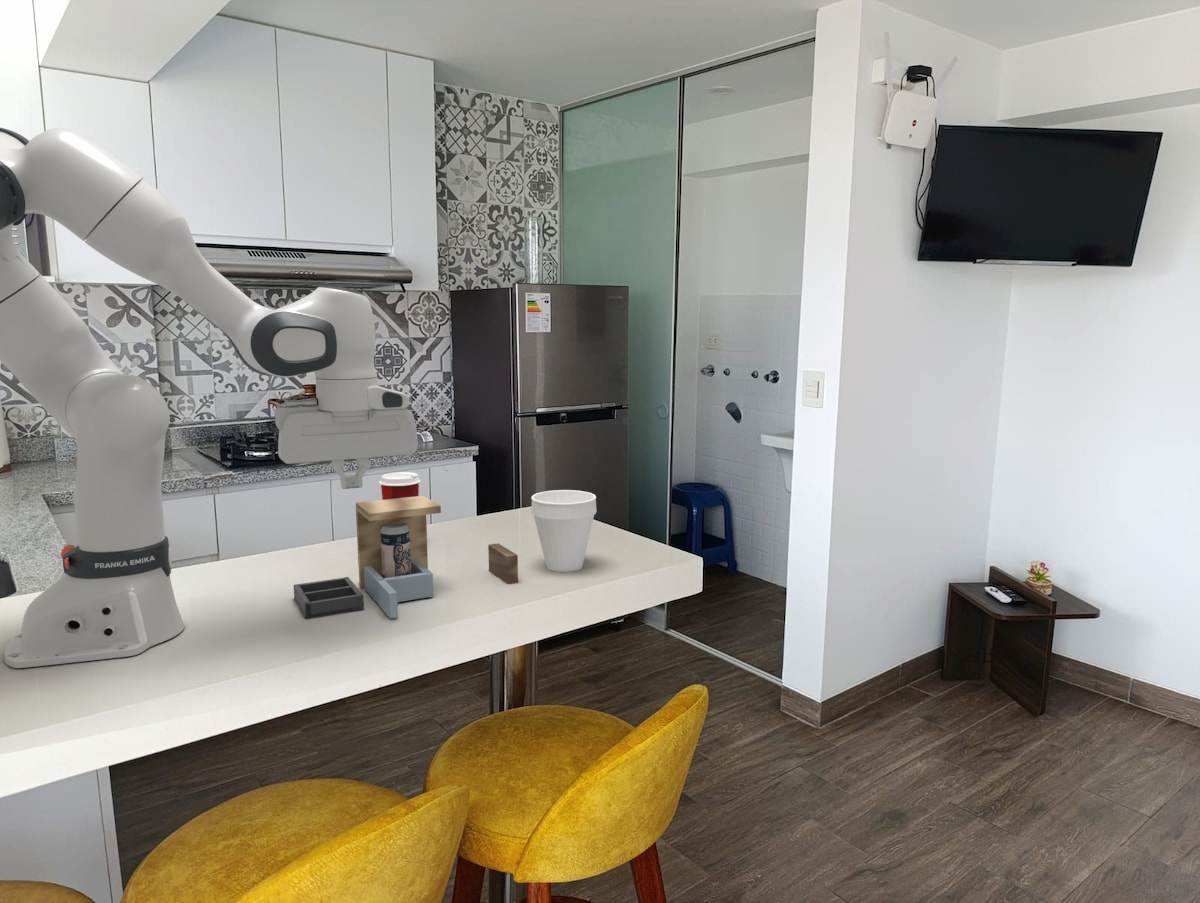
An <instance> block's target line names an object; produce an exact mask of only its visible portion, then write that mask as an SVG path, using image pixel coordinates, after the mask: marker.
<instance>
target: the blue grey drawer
mask: <svg viewBox="0 0 1200 903" xmlns="http://www.w3.org/2000/svg"><path fill="white" fill-rule="evenodd" d="M364 580H365V589H364V590H365V591H366V592H367V593H368V594H369V595H370V596H371V598H372V599H373V601H375V603H376V605H378V606H379V607H380V608H381V610H382V611H383V612H384V613H385V614H386V616H388V617H389V619H395V618H398V617H399V612H398V603H401V602H406V601H412V600H420V599H425V598H431V597H434V574H433V572H432V571H431V570H430V569H429V568H428V569H427V568H426V567H425V566H423V565H422V564H421V563H420V562H419V561H418V560H411V574H410V575H404V576H397V577H390V578H382V577H381V576H380V575H379V574H378V573H377V572H376V571H375V569H374V568H373V567H372V566H366V567H364Z"/></svg>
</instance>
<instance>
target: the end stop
mask: <svg viewBox="0 0 1200 903" xmlns="http://www.w3.org/2000/svg"><path fill="white" fill-rule="evenodd" d="M487 546H488V547H487V548H488V550H487V551H488V571H489V572H490V573H491V574H492V575H495V576H496V577H497V578H498V579H500V580H502V581H503V582H504V583H506V584H508V585H509V584H516V583H519V566H518V564H519V563H518V562H519V559H518V557H519V555H518V554H517V553H515V552H513V551H512V550H510V549H508V548H507V547H505V546H504V545H502V544H500V543H490V544H488V545H487Z"/></svg>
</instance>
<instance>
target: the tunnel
mask: <svg viewBox="0 0 1200 903" xmlns="http://www.w3.org/2000/svg"><path fill="white" fill-rule="evenodd" d="M441 507H442V506H441V505H439V504H438V503H436V502H435V501H433V500H431V499H430V498H429V497H426V496H425V495H419V496H416V497H406V498H396V499H387V500H382V499H378V500H377V499H376V500H370V501H369V500H367V501H360V502H355V516H356V517H355V518H356V522H355V523H356V538H357V540H356V541H357V559H358V560H357V561H358V562H357V563H358V565H357V566H358V583H359V590H365V580H364V567H366V566H372V567H373V568H374V569H375V571H376V572H377V573H378V574H379V575H380V576H381V577H382V578H383V576H382V553H381V532H380V531H381V529H382V527H383V525H384V524H387V523H392V522H401V523H406V525H407V527H408V528H409V532H410V559H411V560H418V561H419V562H420V563H421V564H422V565H423V566H425V567H426V568H427V569H428V570H429V562H428V558H429V557H428V535H427V534H428V531H427V530H428V529H427V516H428V515H432V514H433V515H434V514H442V512H441V510H442V509H441Z"/></svg>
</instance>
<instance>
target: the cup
mask: <svg viewBox="0 0 1200 903" xmlns="http://www.w3.org/2000/svg"><path fill="white" fill-rule="evenodd" d="M530 498H531V510H530V511H531V515H532V516H534V522H535V526H536V529H537V534H538V538H539V542H540V546H541V550H542V553H543V557H544V562H545V566H546V569H547V570H548V571H553V572H557V573H571V572H577V571H579V570H581V569H582V568H583V565H584V561H585V557H586V553H587V552H586V551H587V547H588V543H589V539H590V535H591V531H592V527H593V522H594V516H595V515H596V513H597V512H598V511H597V500H596V499H597V496H596V494H594V493H592V492H590V491H589V492H588V491H582V490H575V489H574V490H573V489H557V490H545V491H541V492H537V493H534V494H533V495H532V496H531V497H530Z"/></svg>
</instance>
